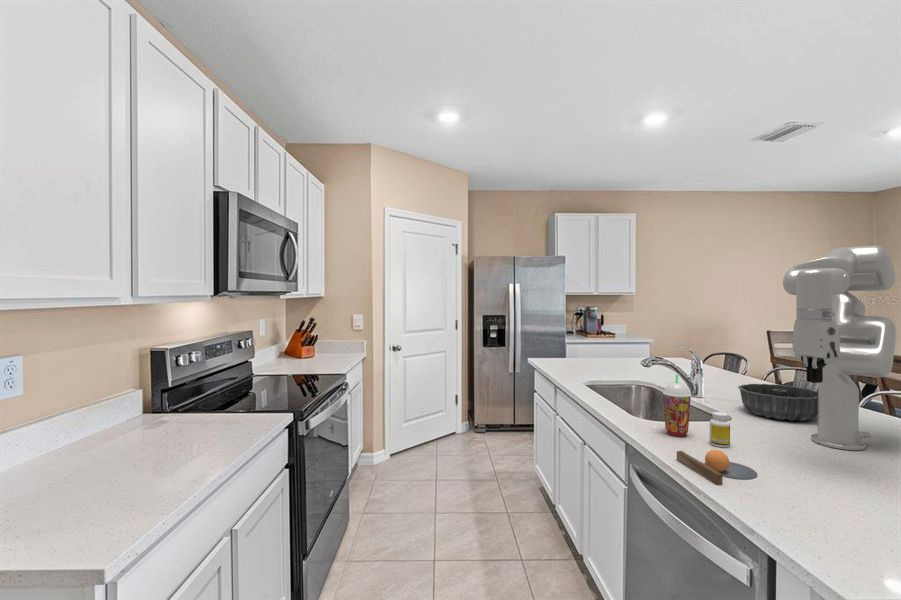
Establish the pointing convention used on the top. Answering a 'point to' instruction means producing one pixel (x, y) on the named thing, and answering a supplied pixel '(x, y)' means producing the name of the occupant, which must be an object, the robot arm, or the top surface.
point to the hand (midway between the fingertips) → (814, 381)
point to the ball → (717, 460)
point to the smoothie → (676, 409)
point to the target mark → (738, 471)
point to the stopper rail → (700, 468)
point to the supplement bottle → (720, 430)
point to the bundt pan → (780, 401)
